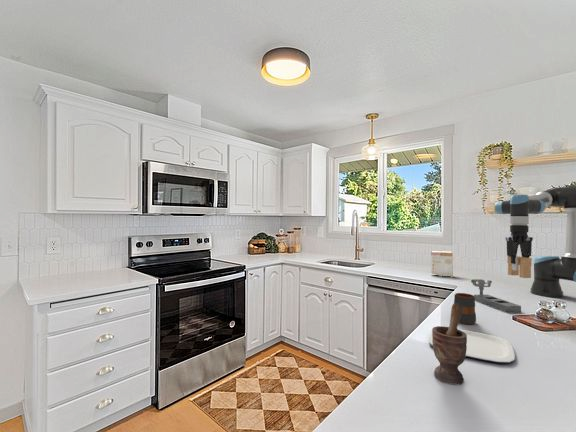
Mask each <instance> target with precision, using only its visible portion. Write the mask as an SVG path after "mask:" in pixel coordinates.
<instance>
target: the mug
mask: <svg viewBox="0 0 576 432" xmlns="http://www.w3.org/2000/svg"><path fill="white" fill-rule="evenodd" d="M454 303H458V304H461V305H462V306H463V310H462V315H461V317H460V320H459V323H458V324H462V325H467V326H468V325H470V326H471V325H472V326H473V325H475V324H476V322H477V316H476V315H477V314H476V301H475V297H474V294H469V293H464V292H458V293H454V299H453V304H454Z"/></svg>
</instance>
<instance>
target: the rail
mask: <svg viewBox="0 0 576 432" xmlns="http://www.w3.org/2000/svg"><path fill="white" fill-rule="evenodd" d="M473 296H474V297H475V302H478V303H480V304H484V305H486V306H488V307H491V308H494V309H496V310H498V311H502V312H504V313H522V305H519V304H516V303H513V302H511V301H508V300H505V299H503V298H502V299H501V298H499V297H496V296H494V295H493V296H492V295H490V294H483V295H480V294H473Z"/></svg>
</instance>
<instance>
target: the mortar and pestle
mask: <svg viewBox="0 0 576 432" xmlns="http://www.w3.org/2000/svg"><path fill="white" fill-rule="evenodd" d="M450 309H451V310H450V318H449V326H443V325H442V326H439V325H438V326H437V325H436V326H434V327H432V330H431V333H432V337H433V338H432V343H433V346H432V350H433V353H434V356H435V359H436V360H437V361H438V362H439V365H437V366H436V367H435V368H434V371H433V376H434V377H435V378H436V379H437V380H438V381H439V382H442V383H447V384H451V385H461V384H463V383H464V380H465V378H464V375H463V374H462V372H461V371H460V370H459V366H461V365H462V364H463V363H464V362H465V358H466V350H467V346H466V344H467V334H465V333H464V332H462V331H461V330H462V329H461V330H458V329H459V328H458V325H459V324H460V323H459V320H460V317H461V315H462V310H463V306H462V305H461V304H458V303H454V302H453V303H452V306H451V308H450Z"/></svg>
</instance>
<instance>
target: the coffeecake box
mask: <svg viewBox="0 0 576 432" xmlns="http://www.w3.org/2000/svg"><path fill="white" fill-rule="evenodd" d="M430 255H431V256H430V257H431V259H430V261H431V262H430V264H431V265H430V266H431V267H430V268H431V269H430V272H431V273H430V275H431V274H436V275H444V276H453V274H454V273H453V272H454V257H453V256H454V253H453V251H442V250H441V251H440V250H432V251H431V253H430Z"/></svg>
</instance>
